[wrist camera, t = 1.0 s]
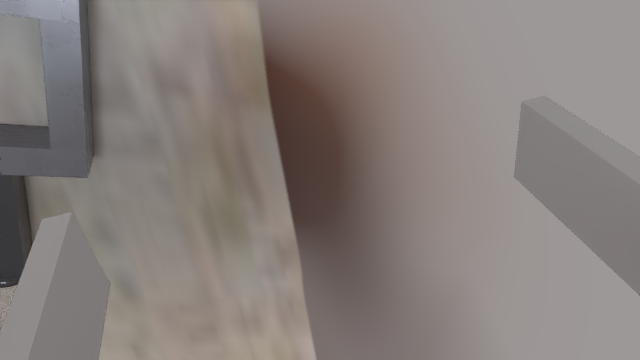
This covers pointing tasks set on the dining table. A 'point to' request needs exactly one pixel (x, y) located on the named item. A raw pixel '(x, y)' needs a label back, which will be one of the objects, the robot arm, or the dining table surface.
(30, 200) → the dining table surface
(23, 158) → the low gray tray
